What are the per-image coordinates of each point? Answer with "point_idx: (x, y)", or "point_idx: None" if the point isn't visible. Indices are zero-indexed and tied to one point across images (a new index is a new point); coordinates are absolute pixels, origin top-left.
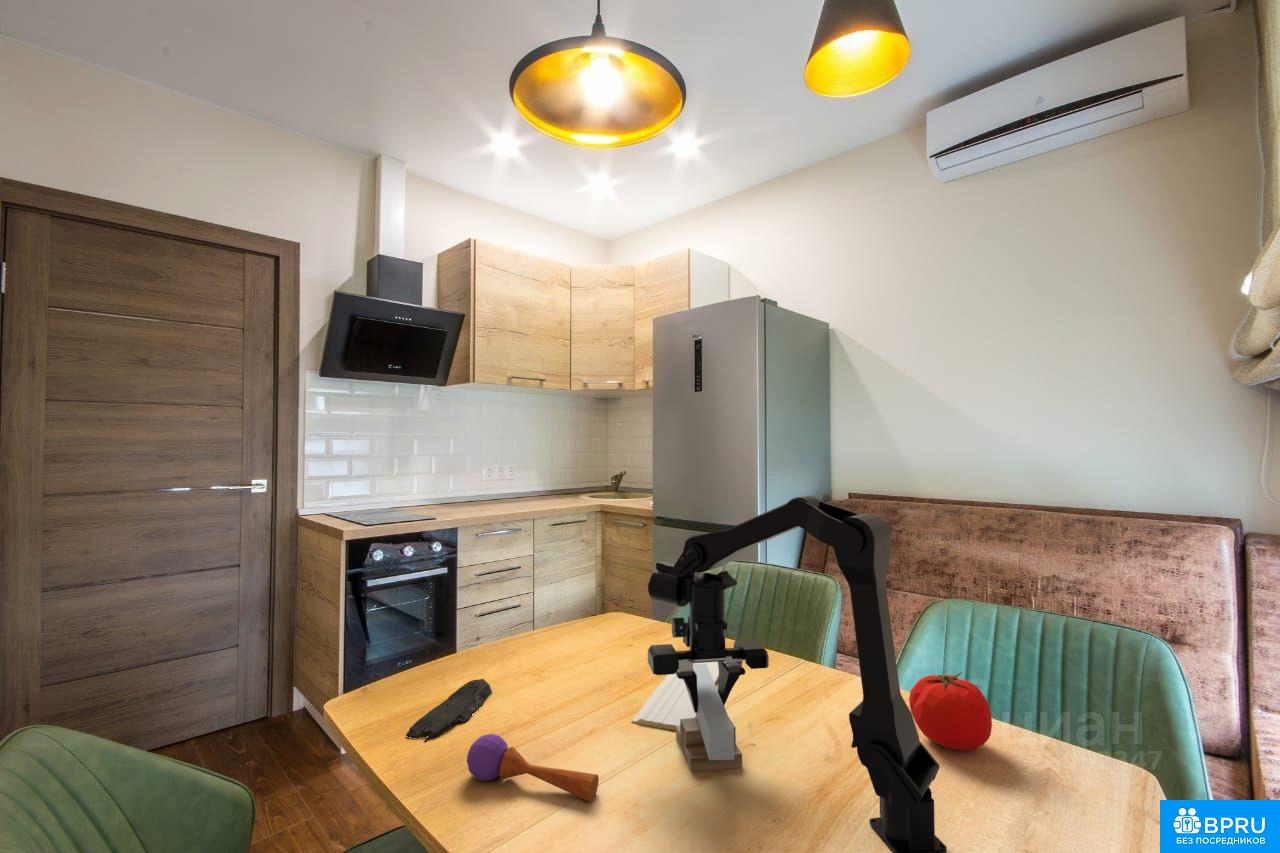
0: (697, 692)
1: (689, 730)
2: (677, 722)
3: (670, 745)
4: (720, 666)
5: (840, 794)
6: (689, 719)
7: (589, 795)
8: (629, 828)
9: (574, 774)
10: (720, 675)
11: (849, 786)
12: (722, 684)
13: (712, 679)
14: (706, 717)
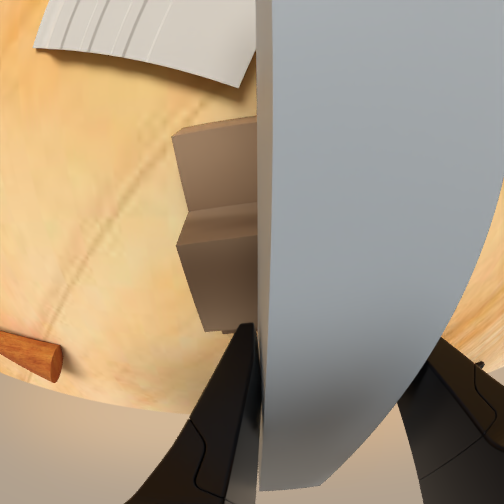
0: (256, 472)
1: (217, 327)
2: (189, 45)
3: (161, 179)
4: (496, 492)
5: (460, 338)
6: (223, 251)
7: (60, 372)
8: (133, 397)
9: (24, 367)
10: (467, 453)
11: (483, 321)
12: (428, 447)
13: (496, 193)
14: (265, 479)
